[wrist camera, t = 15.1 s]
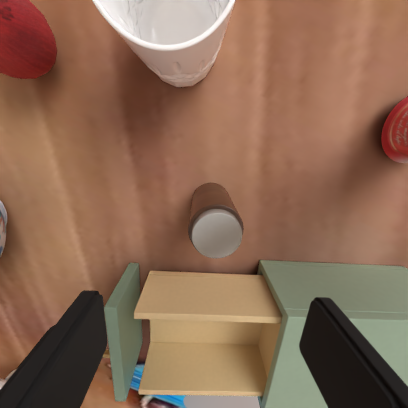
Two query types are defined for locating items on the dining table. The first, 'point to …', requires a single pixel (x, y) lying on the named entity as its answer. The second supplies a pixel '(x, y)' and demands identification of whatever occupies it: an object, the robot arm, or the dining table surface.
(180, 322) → the drawer
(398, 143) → the liquor
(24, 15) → the onion
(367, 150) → the dining table surface
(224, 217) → the pepper mill
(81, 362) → the robot arm
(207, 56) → the white cup
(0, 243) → the chinaware
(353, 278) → the cabinet
